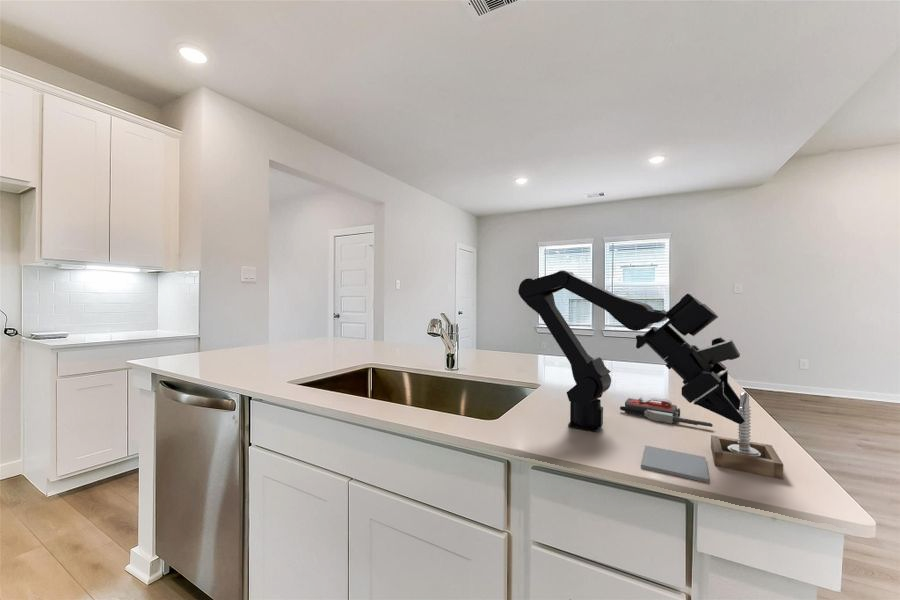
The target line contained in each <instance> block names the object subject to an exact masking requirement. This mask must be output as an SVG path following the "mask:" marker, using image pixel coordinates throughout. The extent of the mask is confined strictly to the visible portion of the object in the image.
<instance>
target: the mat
mask: <svg viewBox="0 0 900 600" xmlns="http://www.w3.org/2000/svg"><path fill="white" fill-rule="evenodd" d="M640 469H645V470H648V471H654V472H657V473H658V472H659V473H662V474H667V475H671V476H676V477H681V478H685V479H690V480H695V481H699V482H703V483H708V484H709V483H710V476H709V470H708V464H707V459H706V456H703V455H696V454H692V453H687V452H682V451H677V450H671V449H666V448H662V447H657V446H650V445H646V444H645V445H644V450H643V453H642V458H641V463H640Z"/></svg>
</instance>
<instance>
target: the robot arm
mask: <svg viewBox="0 0 900 600" xmlns="http://www.w3.org/2000/svg"><path fill="white" fill-rule="evenodd" d="M563 289H565V290H567V291H569V292H570V293H572V294H575V295H576V296H578V297H580V298H582V299H583V300H585V301H588V302H589V303H592V304H594V305H595V306H597V307H598V308H602V309H603V310H604V311H606V312H608V314H610V316H612V318H614V319H615V320H616V321H617V322H618V323H620V324H621V325H622V326H623V327H625V328H626V329H627V330H631V331H635V332H637V331H641V330H645V329H648V328H650V327H651V328H650V329H649V330H648V331H646V332H645V333H644V334H643V335H641V334H638V335H636V336H635V338H636V344H635V348H636V349H637V350H639V349H641V348H644V346H646V345H647V346H648V347H649V348H650V349H651V350H652V351H653V352H654V353H656V354H657V355H658V356H659V358H660V359H662V360H663V361H664V363H665V364H666V365H665V367H667V369H669V370H671V369H672V371H674V372H675V373H676V374H677V375H678V376H679V377H680V378H681V379H682V380H683V381H682V383H683V385H682V386H681V396H682V397H683V398H684V399H685V400H686V401H687V402H688V403H689V404H691V403H692V402H693V405H695V406H699V407H701V408H703V409H706V410H708V411H710V412H712V413H715V414H717V415H719V416H721V417H724V418H726V419H728V420H730V421H731V422H733V423H736V424H738V425H739V424H742V423H743V422H745V420H744V418H743V417H742V416H741V414H740V413H739V411H738V410H739V407H740V397H739V396H738V395H737V393H736V392H735V390H734V389H733V387H732V386H731V385H730V383H729V370H727V366H725V365H724V364H723V363H722V362H725V361H727V360H730V361H733V360H735V359H739V358H740V356H741V353H740V352H739V349H737V346H736V345H735V343H734V341H733V339H728V340H726V339H724V338H722V336H719V337H717V338H713V339H712V340H711V345H709V346H708V345H707V347H703V348H699V346H697V345H695V344H694V345H693V344H692V345H691V344H689V343H688V342H687V341H686V340H685V338H683V337H682V336H684V337H685V336H687V335H691V336H692V337H695V336H696V335H698V334H699V333H700V332H702V331H703V330H704V329H705V328H706V327H708V326H709V325H710V324H712V323H713V322H714V321H715V320H716V319H718V318H719V316H718V314H717V313H715V311H713V310H712V309H711V308H710V307H709V306H708V305H706V304H705V303H702V302H701V301H700V300H698V299H697V298H696V297H694V296H693V295H692V294H690V293H686V294H685V295H684V296H682V298H681V299H680V301H678V302H676V304H674V306H672V307H671V308H670V309H668V310H665V309H663V310H662V309H661V310H660V309H654V308H653V306H651V305H650V304H647V303H645V302H641V301H639V300H638V301H637V300H634V299H631V298H626V297H624V296H619V295H617V294H614V293H612V292H611V291H608V290H607V289H604V288H602V287H600V286H598V285H597V284H595V283H592V282H590V281H588V280H587V279H584V278H582V277H580V276H578V275H576V274H574V273H573V272H572V271H570V270H569V271H568V270H558V271H556V272H554V273H551V274H547V275H544V276H540V277H537V278H530V277H529V278H524V279H523V280H522V281H521V282H520V284H519V286H518V290H517V294H518V295H519V297H520V298H521V299H522V301H524V304H526V305H527V306H528V307H529V308H530V309H532V310H533V311H535V312H536V313H537V314H538V315H539V316H540V318H541V320H542V322H543V323H544V324H545V326H546V328H547V329H548V330H549V332H550V334H551V336H552V337H553V338H554V340H555V341H556V343H557V345H558V347H559V348H560V349H561V351H562V352H563V355H565V357H566V359H567V360H568V362H569V364H570V368H571V372H572V377H573V379H574V382H575V385H574V386H573V387H571V388H570V389H569V390H568V391H567V392H566V395H567V400H568V402H570V405H569V406H570V407H569V408H570V409H569V410H570V411H569V416H570V417H569V421H568V422H569V423H568V424H567V426H568V427H569V428H575V429H579V430H585V431H591V432H596V433H597V432H599V429H600V428H602V427H603V425H604V407H603V406H601V401H602V400H601V399H600V398H601V397H602V396H603V393H605V392H606V391H608V390H609V389H610V387H611V385H612V384H611V383H612V378H611V375H610V374H611V370H610V369H609V368H607V367H606V365H605V363H604V361H603V359H602V358H601V357H597V358H593V357H592V356H591V355H589V354H588V353H587V351H586V350H585V348H584V346H583V345H582V343H581V342H580V340H579V339H578V338H577V336H576V334H575V333H574V331H573V330H572V329H571V327H570V326H569V324H568V322H567V320H565V318H564V316H563V315H562V313H561V312H560V311H559V308H557V306H556V302H555V298H554V293H556V292H557V293H558V292H560V291H561V290H563ZM667 320H668V321H667ZM665 321H666V322H665ZM661 322H665V323H664V324H663V325H662V326H660V327H659V328H658V327H655V326H653V324H658V323H661ZM670 325H671V326H670ZM652 326H653V327H652ZM672 327H673V328H674V329H675V330H676V331H675V330H674V329H673V328H672ZM679 333H680V334H681V335H682V336H681V335H680V334H679ZM721 372H722V373H721Z"/></svg>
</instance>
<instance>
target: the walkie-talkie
mask: <svg viewBox="0 0 900 600" xmlns="http://www.w3.org/2000/svg"><path fill="white" fill-rule="evenodd" d="M619 410H620V411H623V412H624V413H625V414H626V415H627V414H628V415H632V416H638V417H644V418H646V419H649V420H652V421H654V422H656V421H657V422H662V423H665V424H673V423H683V424H689V425H693V426H705V427H708V428H709V427H711V428H712V427H713V424H712V423H711V422H706V421H700V420H695V419H688V418H685V417H684V418H682V417H681V409H680V408H678V405H676V404H673V403H672V401H671V400H669V399H661V398H657V397H651V398H649V399H646V400H645V399H643V397H642V396H641V397H638V399H637V398H630V397H628V398H627V399H626V400H625V402H624V405H621V406H620V407H619Z"/></svg>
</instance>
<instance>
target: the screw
mask: <svg viewBox="0 0 900 600" xmlns="http://www.w3.org/2000/svg"><path fill="white" fill-rule="evenodd" d="M739 396H740V397H739V399H740V407H739V410H737V411H738V412H739V413H740V414H741V416H742V417H743V418H744V420H745V422H743V423H742V424H738V425H737V427H738V428H737V430H738V431H737V433H738V435H737V436H738V438H737V440H739V441H738V443H739V445H738V444H733V445H730V446H728V451H730V452H732V453H737V454H743V455H748V456H754V457H761V453H760V452H758V450H756V449H754V448H752V447H750V445H749V444H750V442H751V435H750V434H751V432H750V431H751V429H750V428H751V421H752V419H751V418H752V417H751V415H752V413H751V412H752V410H751V406H750V394H748V393H747V392H745V391H744V392H741V393H740V394H739Z"/></svg>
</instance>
